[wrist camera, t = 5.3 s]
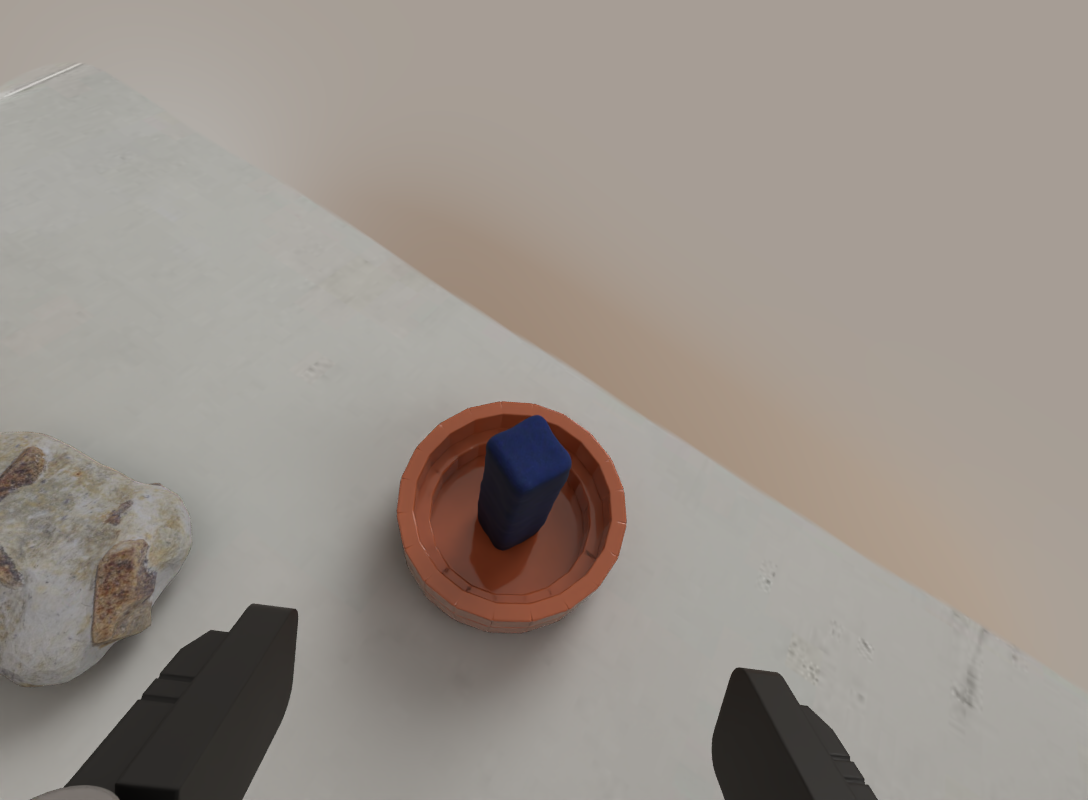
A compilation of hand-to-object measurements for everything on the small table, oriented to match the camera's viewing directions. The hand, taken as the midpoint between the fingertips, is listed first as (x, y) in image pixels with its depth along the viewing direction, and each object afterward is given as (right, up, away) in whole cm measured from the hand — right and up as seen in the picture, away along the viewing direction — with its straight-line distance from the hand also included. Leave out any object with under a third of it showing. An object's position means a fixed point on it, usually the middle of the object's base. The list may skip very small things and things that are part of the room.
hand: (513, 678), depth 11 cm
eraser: (-1, 0, +13) cm, 13 cm away
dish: (-1, 0, +13) cm, 13 cm away
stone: (-17, -1, +10) cm, 20 cm away
